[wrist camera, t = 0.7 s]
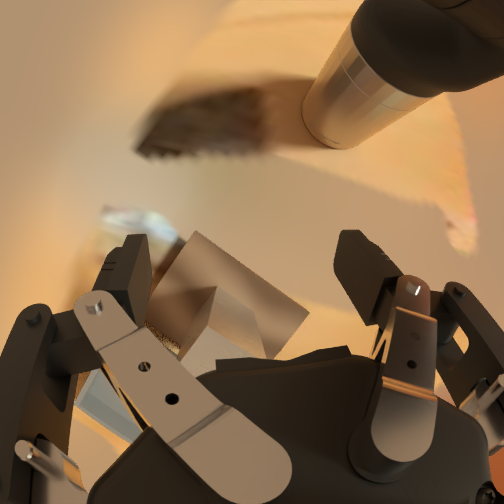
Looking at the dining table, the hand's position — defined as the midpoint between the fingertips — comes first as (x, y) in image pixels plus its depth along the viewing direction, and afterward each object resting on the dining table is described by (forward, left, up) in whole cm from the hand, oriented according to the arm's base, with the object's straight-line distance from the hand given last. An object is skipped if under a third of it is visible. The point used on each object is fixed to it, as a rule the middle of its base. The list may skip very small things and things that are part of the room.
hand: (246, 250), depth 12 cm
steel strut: (+8, +4, -21) cm, 23 cm away
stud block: (+8, +4, -22) cm, 24 cm away
